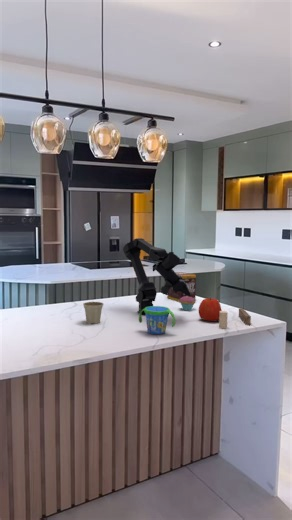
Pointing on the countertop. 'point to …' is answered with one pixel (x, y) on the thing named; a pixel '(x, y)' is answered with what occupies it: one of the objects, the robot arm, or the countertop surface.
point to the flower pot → (93, 311)
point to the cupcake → (187, 302)
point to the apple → (209, 309)
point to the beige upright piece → (222, 319)
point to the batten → (245, 316)
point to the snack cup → (156, 318)
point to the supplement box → (191, 285)
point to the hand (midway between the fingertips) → (190, 296)
